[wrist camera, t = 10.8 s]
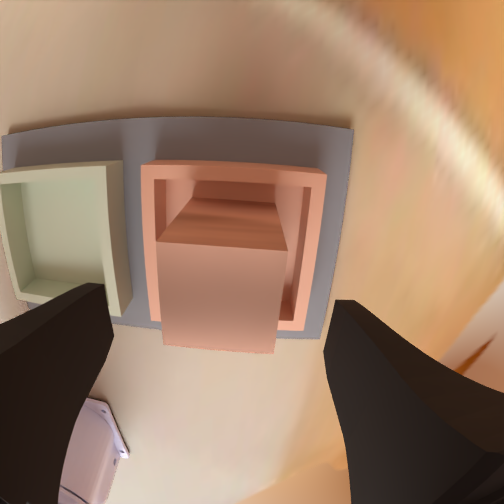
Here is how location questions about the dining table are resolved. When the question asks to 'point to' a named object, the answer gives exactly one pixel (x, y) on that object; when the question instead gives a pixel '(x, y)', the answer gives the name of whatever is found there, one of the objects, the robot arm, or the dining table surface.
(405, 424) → the robot arm
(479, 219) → the dining table surface
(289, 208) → the sorting board
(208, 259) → the terracotta block
